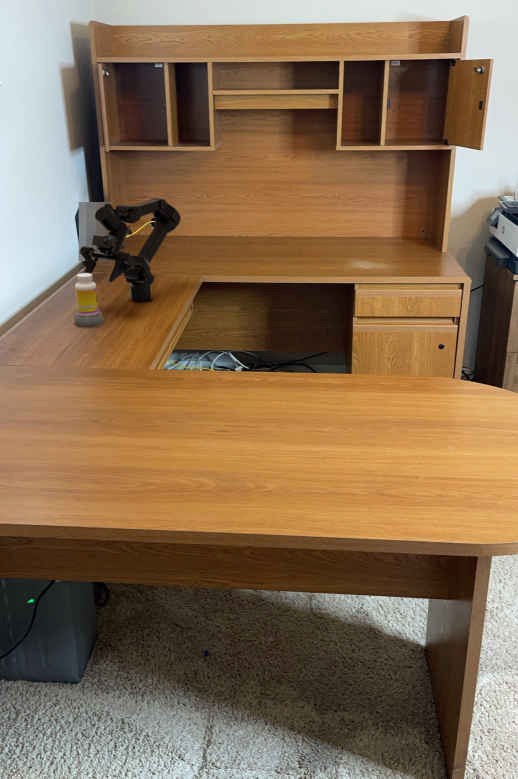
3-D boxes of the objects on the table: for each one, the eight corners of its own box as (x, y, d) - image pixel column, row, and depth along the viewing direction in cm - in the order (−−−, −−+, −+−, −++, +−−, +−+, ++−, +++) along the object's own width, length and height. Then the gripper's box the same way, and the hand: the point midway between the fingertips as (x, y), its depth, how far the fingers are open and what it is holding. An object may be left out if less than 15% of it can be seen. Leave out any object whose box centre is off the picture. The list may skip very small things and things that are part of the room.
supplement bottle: (100, 315, 226) (96, 276, 221) (79, 318, 224) (75, 278, 218) (97, 310, 231) (93, 271, 226) (76, 312, 229) (72, 273, 224)
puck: (99, 317, 234) (98, 308, 233) (106, 325, 227) (105, 316, 225) (72, 320, 231) (71, 312, 229) (77, 329, 223) (76, 319, 222)
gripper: (80, 221, 230) (61, 262, 226) (129, 228, 224) (111, 271, 219) (96, 240, 240) (78, 280, 236) (143, 247, 234) (126, 288, 229)
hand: (98, 279), depth 230 cm, fingers open, 9 cm apart
